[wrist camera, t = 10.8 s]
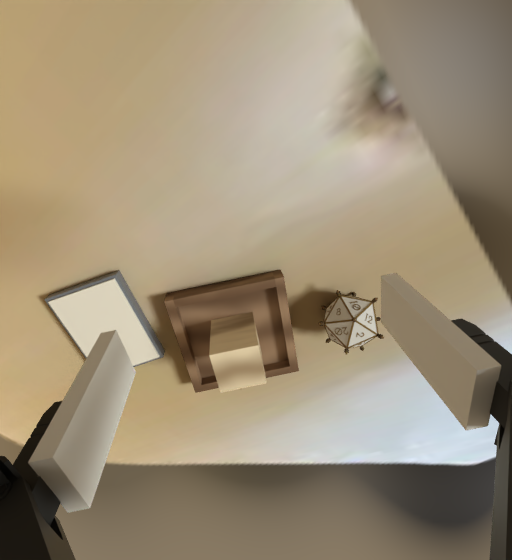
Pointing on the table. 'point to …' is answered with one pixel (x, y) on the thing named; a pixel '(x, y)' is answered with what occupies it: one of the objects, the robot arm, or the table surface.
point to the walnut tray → (229, 302)
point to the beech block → (236, 352)
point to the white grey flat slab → (106, 317)
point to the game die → (351, 321)
